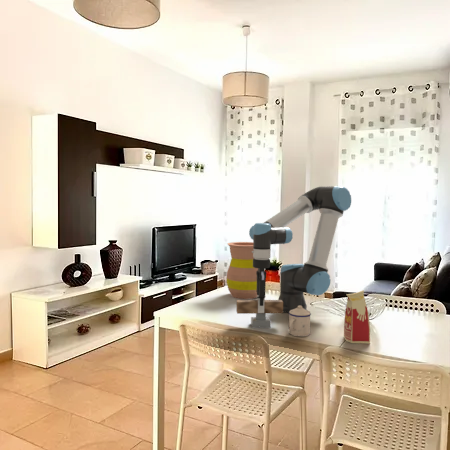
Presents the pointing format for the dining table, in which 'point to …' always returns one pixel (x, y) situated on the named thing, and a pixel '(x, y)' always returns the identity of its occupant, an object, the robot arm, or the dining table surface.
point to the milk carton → (356, 319)
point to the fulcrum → (260, 321)
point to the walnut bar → (252, 306)
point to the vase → (242, 271)
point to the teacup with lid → (299, 322)
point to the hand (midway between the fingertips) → (260, 311)
